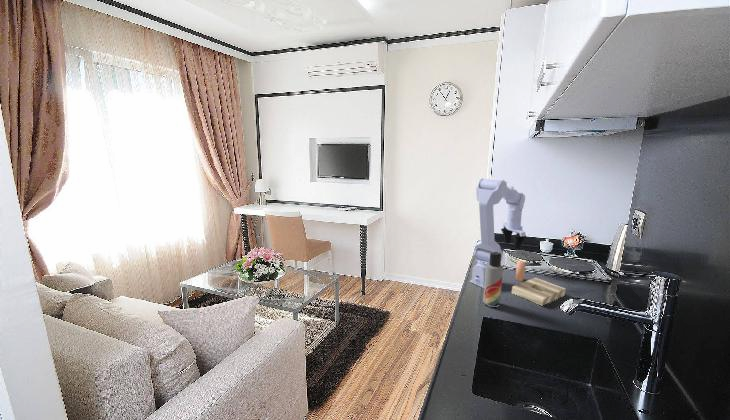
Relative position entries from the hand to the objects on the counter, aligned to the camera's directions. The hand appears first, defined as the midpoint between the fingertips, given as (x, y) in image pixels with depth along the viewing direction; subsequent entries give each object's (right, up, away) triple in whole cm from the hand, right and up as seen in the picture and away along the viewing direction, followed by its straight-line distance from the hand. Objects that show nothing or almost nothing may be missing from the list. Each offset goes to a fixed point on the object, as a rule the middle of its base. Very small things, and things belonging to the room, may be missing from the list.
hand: (512, 245), depth 146 cm
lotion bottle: (-23, -18, -31) cm, 43 cm away
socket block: (-1, -16, -24) cm, 29 cm away
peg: (-2, -13, -11) cm, 17 cm away
